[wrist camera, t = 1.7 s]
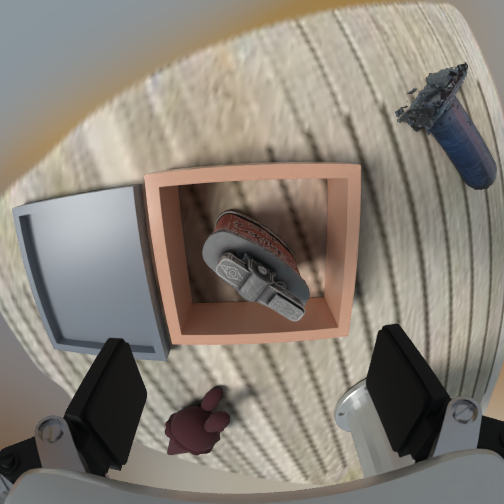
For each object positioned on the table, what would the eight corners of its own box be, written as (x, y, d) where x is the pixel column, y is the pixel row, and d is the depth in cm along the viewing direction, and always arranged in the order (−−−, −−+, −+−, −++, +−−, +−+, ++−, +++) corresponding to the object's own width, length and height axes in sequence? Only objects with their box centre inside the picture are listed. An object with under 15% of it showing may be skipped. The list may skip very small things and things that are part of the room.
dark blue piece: (383, 116, 23) (449, 192, 26) (420, 124, 17) (488, 220, 19) (429, 59, 19) (489, 139, 22) (473, 54, 13) (532, 156, 16)
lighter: (207, 231, 25) (183, 277, 16) (229, 200, 25) (215, 230, 15) (280, 279, 27) (294, 343, 18) (302, 251, 26) (329, 306, 17)
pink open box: (338, 161, 23) (360, 164, 18) (332, 305, 28) (348, 336, 23) (166, 169, 24) (144, 174, 18) (184, 311, 28) (172, 344, 23)
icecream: (194, 476, 30) (257, 429, 28) (146, 468, 27) (200, 419, 25) (187, 440, 37) (242, 387, 34) (144, 429, 33) (192, 371, 31)
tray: (141, 183, 24) (132, 186, 22) (170, 349, 30) (166, 360, 28) (22, 204, 24) (12, 208, 22) (61, 340, 30) (54, 349, 28)
